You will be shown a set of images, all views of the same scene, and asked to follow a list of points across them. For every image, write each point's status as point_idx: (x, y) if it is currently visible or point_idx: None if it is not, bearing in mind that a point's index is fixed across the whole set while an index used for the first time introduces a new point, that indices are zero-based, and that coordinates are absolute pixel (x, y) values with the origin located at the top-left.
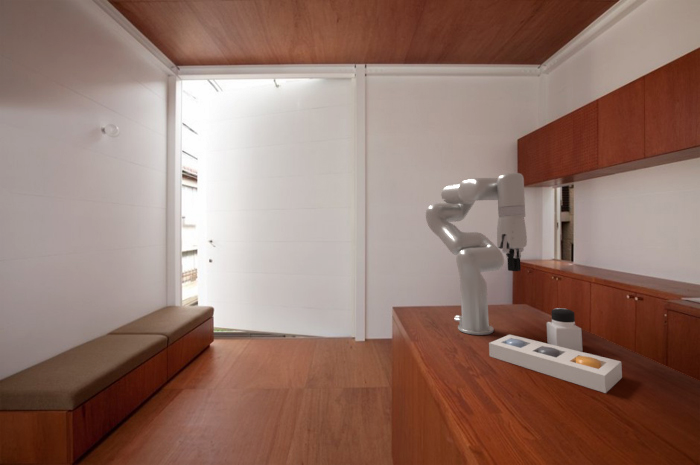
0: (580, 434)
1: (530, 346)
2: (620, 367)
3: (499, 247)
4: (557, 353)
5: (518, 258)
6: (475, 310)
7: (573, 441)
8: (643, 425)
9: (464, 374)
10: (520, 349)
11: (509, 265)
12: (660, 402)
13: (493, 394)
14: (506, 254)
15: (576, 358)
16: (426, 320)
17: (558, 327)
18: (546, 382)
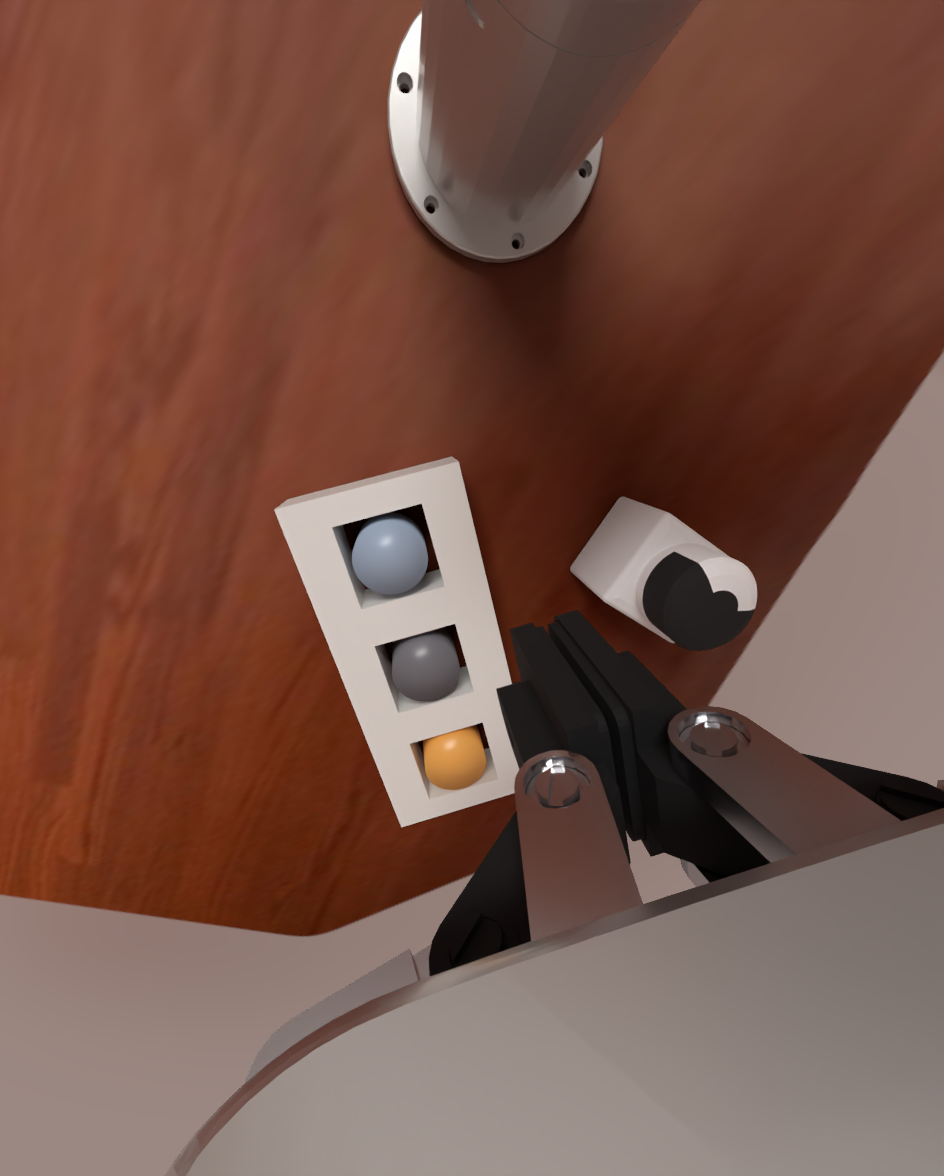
0: (190, 872)
1: (409, 611)
2: None
3: (346, 1058)
4: (426, 700)
5: (645, 844)
6: (464, 131)
7: (156, 882)
8: (339, 877)
9: (79, 588)
10: (346, 619)
11: (505, 707)
12: (465, 840)
13: (103, 718)
14: (467, 888)
15: (438, 747)
16: None
17: (616, 601)
18: (314, 715)
